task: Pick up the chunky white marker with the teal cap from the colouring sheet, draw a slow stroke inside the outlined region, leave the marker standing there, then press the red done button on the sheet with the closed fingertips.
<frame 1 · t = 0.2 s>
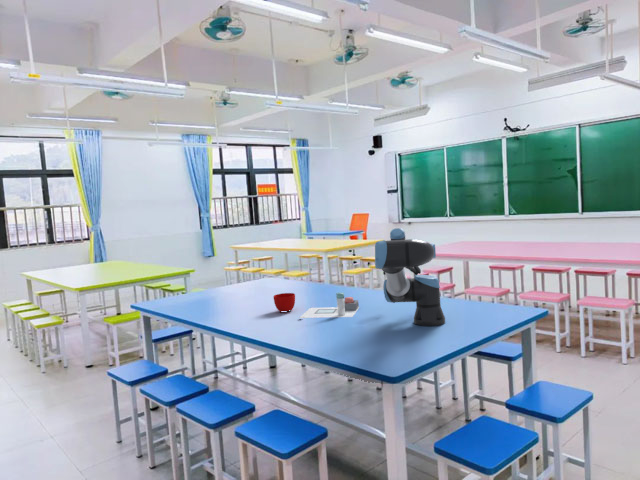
hand: (403, 282, 258), 16 cm above the table, fingers open, 13 cm apart
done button: (349, 301, 266), point 5 cm above the table, slide at 0.0 cm
button housing: (349, 308, 266), resting on sheet
marker: (341, 314, 253), point 1 cm above the table, touching sheet
sheet: (330, 314, 262), on the table
ceramic cup: (286, 311, 280), on the table
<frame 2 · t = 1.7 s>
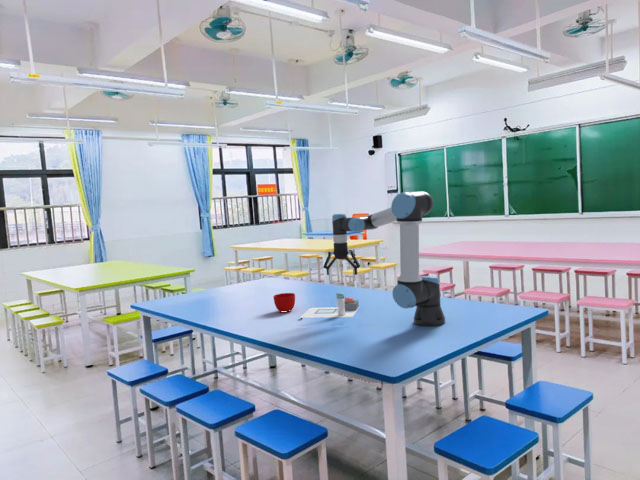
hand: (342, 280, 253), 20 cm above the table, fingers open, 13 cm apart
nothing on the table moved.
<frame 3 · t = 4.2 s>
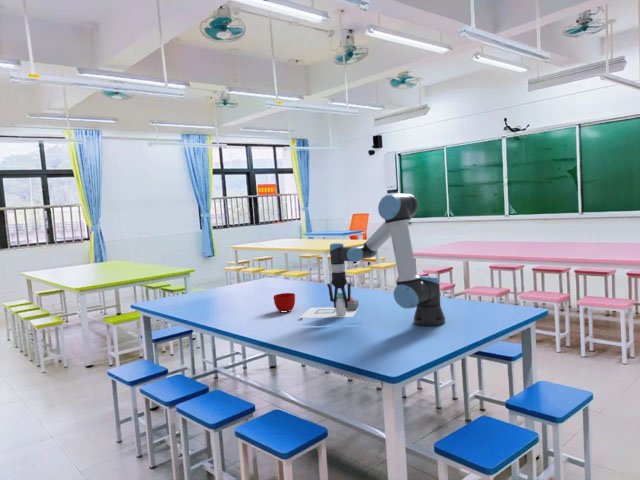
hand: (341, 313, 253), 2 cm above the table, fingers closed on marker, 3 cm apart
marker: (341, 314, 253), point 1 cm above the table, touching gripper, sheet
everything else where it was.
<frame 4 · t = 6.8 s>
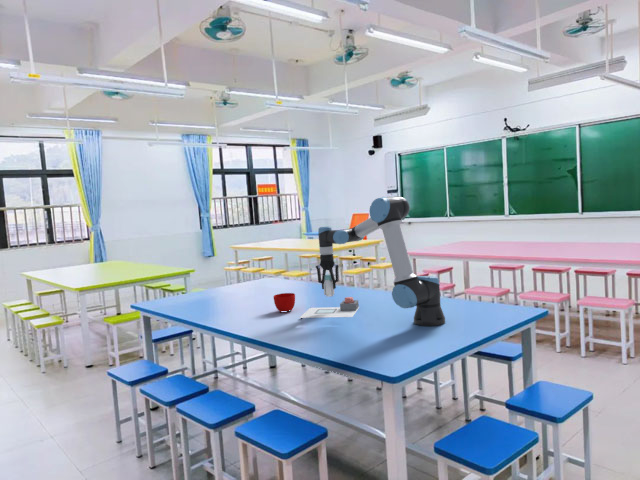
hand: (329, 294, 263), 11 cm above the table, fingers closed on marker, 4 cm apart
marker: (329, 295, 263), point 10 cm above the table, touching gripper
everything else where it was.
when the fingers open (2 cm above the table, at t = 9.4 s): marker stays where it is, resting on sheet.
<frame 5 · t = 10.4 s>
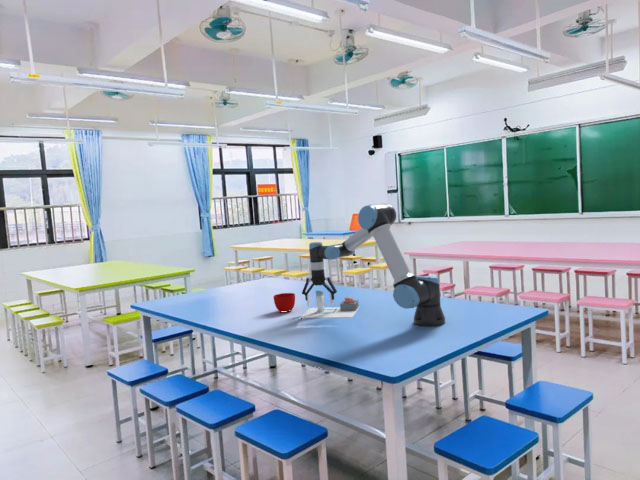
hand: (320, 305, 265), 4 cm above the table, fingers open, 13 cm apart
marker: (320, 311, 265), point 1 cm above the table, touching sheet
everything else where it was.
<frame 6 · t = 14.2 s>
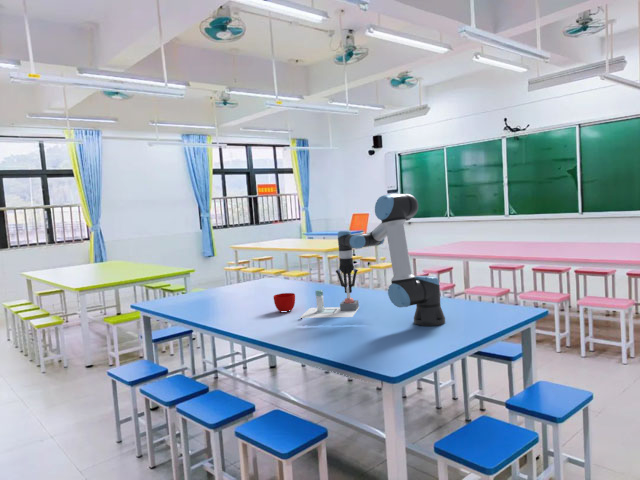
hand: (348, 298, 266), 7 cm above the table, fingers closed
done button: (349, 302, 266), point 5 cm above the table, slide at -0.5 cm, touching gripper
everything else where it was.
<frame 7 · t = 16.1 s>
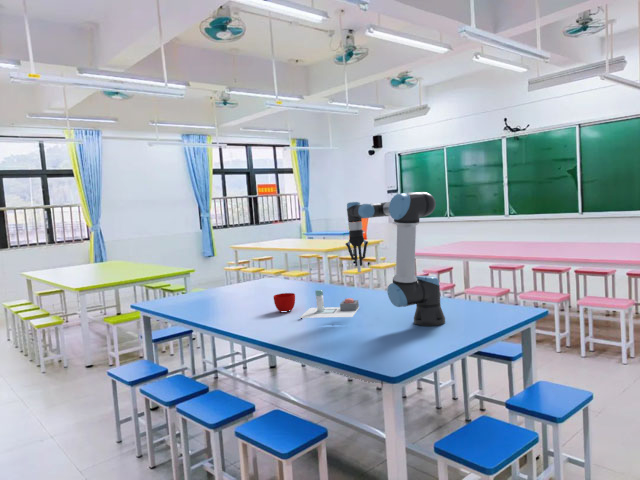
hand: (359, 271, 258), 23 cm above the table, fingers closed
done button: (349, 302, 266), point 5 cm above the table, slide at -0.7 cm
everything else where it was.
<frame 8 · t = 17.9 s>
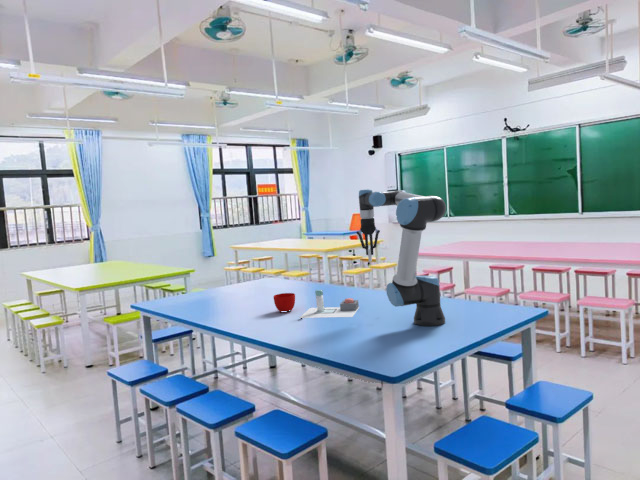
hand: (370, 260, 253), 29 cm above the table, fingers closed
nothing on the table moved.
at the end: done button slide at -0.7 cm; marker inside the target area (3.0 cm from its centre), point 1.3 cm above the table; the gripper is holding nothing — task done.
